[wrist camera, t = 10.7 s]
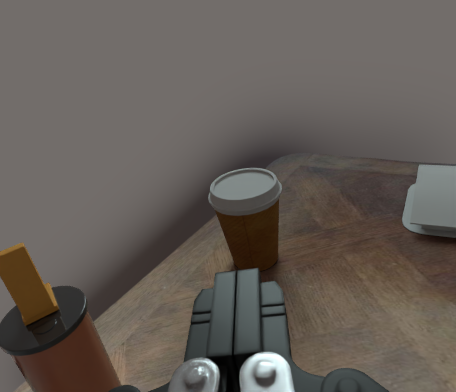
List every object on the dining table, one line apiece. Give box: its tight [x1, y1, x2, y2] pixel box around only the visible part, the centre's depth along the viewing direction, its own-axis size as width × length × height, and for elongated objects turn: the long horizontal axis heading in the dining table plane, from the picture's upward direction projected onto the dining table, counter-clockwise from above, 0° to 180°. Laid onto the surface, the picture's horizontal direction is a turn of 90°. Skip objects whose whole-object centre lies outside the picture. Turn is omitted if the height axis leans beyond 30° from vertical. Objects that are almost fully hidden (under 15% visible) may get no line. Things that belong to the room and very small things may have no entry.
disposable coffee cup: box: [208, 168, 282, 271], centre depth 54 cm, size 10×10×12 cm
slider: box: [0, 243, 59, 326], centre depth 34 cm, size 4×3×7 cm
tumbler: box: [0, 286, 122, 392], centre depth 37 cm, size 7×7×13 cm
